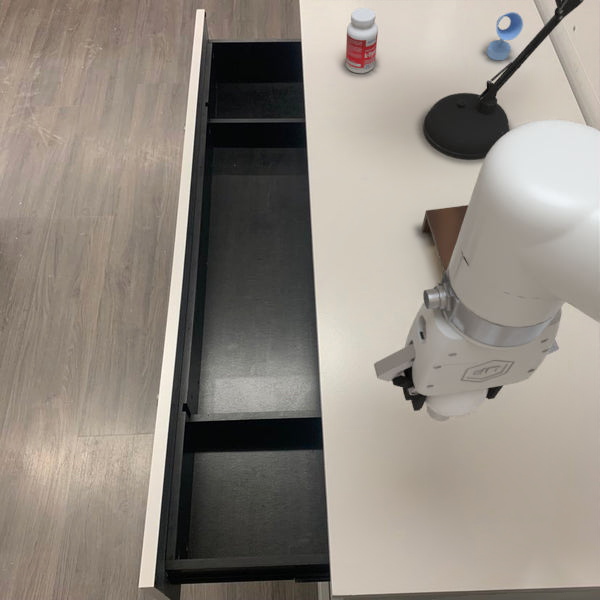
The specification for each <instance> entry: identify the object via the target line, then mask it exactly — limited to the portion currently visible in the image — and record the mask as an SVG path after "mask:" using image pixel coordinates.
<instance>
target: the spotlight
mask: <svg viewBox="0 0 600 600" xmlns="http://www.w3.org/2000/svg"><path fill="white" fill-rule="evenodd" d="M504 17H507V18H509V22H510V23H509V25H508V26H507V27H506V28H504V29H502V28H500V27H499V24H500V22H501V21H502V19H504ZM523 27H524V20H523V18H522V16H521V15H520V14H519V13H517V12H515V11H511V12H507V13H504V14H503V15H501V16H499V17H498V19H497V20H496V27H495V28H496V29H495V30H496V34H497V37H498V38H499V39H496V40H493V41H490V42H489V44H488V47H487V50H486V55H487V57H488V58H490V59H491V60H494V61H504V60H506V59H508V58H509V56H510V53H511V49H512V46H511V44H510V43H509V42H508V41H511V40H514V39H516V38H517V37H518V36H519V35H520V34H521V32H522V30H523Z"/></svg>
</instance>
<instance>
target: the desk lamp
mask: <svg viewBox="0 0 600 600" xmlns="http://www.w3.org/2000/svg"><path fill="white" fill-rule="evenodd" d="M584 1H585V0H554V2H555V5H556V8H555V9H554V15H553V16H552V17H551V18H550V19H549V20H548V21H547V23H546V24H544V26H543V27H542V28H541V30H540V31H538V33H536V35H535V36H534V37H533V38H532V39H531V41H530V42H529V43H528V44H527V45H526V46H525V48H523V50H522V51H521V52H520V53H519V54H518V55H517V56H516V57H515V59H514V60H512V61H510V62H509V63H508V64H507V65H505V66H504V67H503V68H502V69H501V70H500V71H499V72H498V73H496V74H495V75H494V76H493V77H492V78H491V79H490V80H487V81H486V88H485V89H484V90H483V91H482V92H481V94H478V93H471V92H459V93H453V94H448V95H447V96H444V97H442V98H441V99H439V100H438V101H436V103H434V104H433V105H432V106H431V108H430V110H429V111H428V112H427V113H426V115H425V117H424V121H423V128H422V129H423V134H424V136H425V139H426V141H427V142H428V144H429V145H430V146H432V148H434V149H435V150H437V152H439V153H441V154H443V155H445V156H448V157H451V158H454V159H460V160H481V159H485V157H486V155H487V153H488V152H489V151H490V149H491V148H492V147H493V145H494V144H495V143H496V142H497V141H498V140H499V139H500V138H501V137H502V136H503V135H505V134H506V133H507V132H509V131H510V126H509V118H508V116H507V113H506V111H505V110H504V108H503V107H502V106H501V105H500V104H499V103H498V98H497V94H498V92H499V91H500V90H501V89H502V87H504V85H506V83H507V82H508V81H509V79H511V77H512V76H513V75H514V74H515V73H516V72H517V71H518V69H520V68H521V67H522V65H523V64H524V63H525V62H526V61H527V59H528V58H529V57H530V56H531V55H532V54H533V53H534V52H535V51H536V50H537V48H538V47H539V46H540V45H541V44H542V43H543V42H544V40H546V38H548V36H549V35H550V34H551V33H552V32H553V31H554V30H555V28H556V27H557V26H558V25H560V23H561V22H562V20H564V18H565V17H567V16H568V15H569V14H571V13H572V12H574V10H575V9H577V8H578V7H579V6H581V4H583V2H584ZM494 80H495V81H494Z"/></svg>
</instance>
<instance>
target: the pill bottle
mask: <svg viewBox="0 0 600 600" xmlns="http://www.w3.org/2000/svg"><path fill="white" fill-rule="evenodd" d="M378 33H379V27H378V25H377V23H376V12H375V11H374V10H373V9H371V8H368V7H358V8H356V9H354V10H352V11H351V15H350V23H349V24H348V25H347V27H346V45H345V67H346V68H347V70H349V71H350V72H352V73H354V74H366V73H368V72H370V71H373V69H374V67H375V65H376V56H377V46H378V45H377V44H378V36H379V35H378Z"/></svg>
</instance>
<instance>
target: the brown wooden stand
mask: <svg viewBox="0 0 600 600" xmlns="http://www.w3.org/2000/svg"><path fill="white" fill-rule="evenodd" d="M468 205H469V204H466V205H465V204H464V205H458V206H450V207H442V208H433V209H427V210H425V213H424V217H423V222H422V224H421V225H422V226H421V232H422V234H423V233H424V234H425V233H431V236H432V240H433V242H434V246H435V248H436V252H437V254H438V257H439V261H440V264H441V267H442V270H443V273H444V272H445V270H447V269H448V266H449V263H450V260H451V257H452V254H453V251H454V248H455V245H456V242H457V239H458V236H459V233H460V229H461V226H462V223H463V220H464V217H465V214H466V211H467V208H468Z"/></svg>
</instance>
